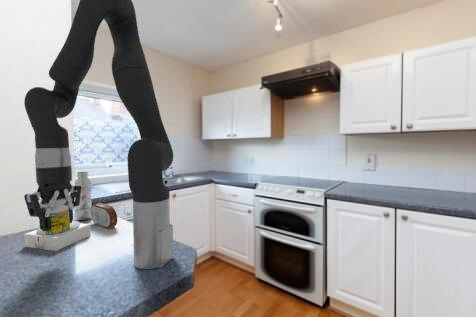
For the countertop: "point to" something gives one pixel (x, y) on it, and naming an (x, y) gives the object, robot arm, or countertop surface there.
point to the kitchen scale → (55, 243)
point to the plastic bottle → (84, 197)
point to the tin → (104, 215)
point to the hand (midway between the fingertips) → (57, 226)
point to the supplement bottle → (59, 219)
